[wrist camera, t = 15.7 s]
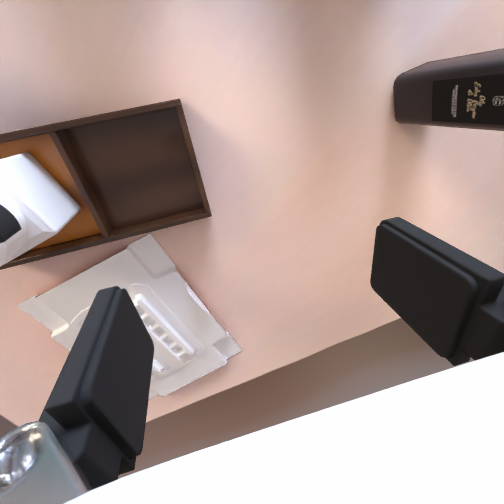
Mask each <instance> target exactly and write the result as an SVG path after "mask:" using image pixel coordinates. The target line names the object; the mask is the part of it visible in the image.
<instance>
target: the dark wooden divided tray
mask: <svg viewBox="0 0 504 504" xmlns="http://www.w3.org/2000/svg"><path fill="white" fill-rule="evenodd" d="M25 152H29V153H31V154H32V155H33V156H34V157H35V158H36V159H37V160H38V162H39V163H40V164H41V165H42V166H43V167H44V168H45V169H46V170H47V171H48V172H49V173H50V174H51V175H52V176H53V178H54V179H55V180H56V181H57V182H58V183H59V184H60V185H61V186H62V187H63V188H64V189H65V190H66V191H67V192H68V194H69V195H70V196H71V197H72V198H73V199H74V200H75V201H76V202H77V203H78V204H79V205H80V207H81V210H80V211H79V212H78V213H77V214H76V215H75V216H74V217H73V218H72V219H71V220H70V221H69V222H68V223H67V224H66V225H65V226H64V227H63V228H62V229H61V230H60V231H59V232H58V233H57V234H56V235H54V236H52V237H50V238H49V239H47V240H45V241H44V242H42V243H40V244H38V245H37V246H35V247H33V248H32V249H30V250H28V251H26V252H25V253H23V254H21V255H20V256H18V257H16V258H14V259H13V260H11V261H9V262H8V263H6V264H4V265H2V266H1V267H0V270H1V269H5V268H9V267H13V266H17V265H21V264H25V263H29V262H33V261H37V260H41V259H45V258H48V257H52V256H56V255H60V254H64V253H68V252H72V251H76V250H80V249H84V248H88V247H92V246H96V245H100V244H104V243H108V242H112V241H116V240H120V239H124V238H128V237H132V236H135V235H139V234H143V233H147V232H151V231H155V230H159V229H163V228H167V227H171V226H175V225H179V224H183V223H187V222H191V221H195V220H199V219H203V218H207V217H211V216H212V215H211V211H210V208H209V204H208V200H207V197H206V193H205V189H204V186H203V182H202V178H201V175H200V171H199V167H198V164H197V160H196V156H195V153H194V149H193V145H192V142H191V138H190V134H189V131H188V127H187V123H186V120H185V116H184V112H183V109H182V105H181V101H180V99H175V100H170V101H165V102H160V103H155V104H150V105H145V106H140V107H135V108H130V109H125V110H120V111H115V112H110V113H105V114H100V115H95V116H90V117H85V118H80V119H75V120H70V121H65V122H60V123H54V124H49V125H44V126H39V127H34V128H29V129H24V130H19V131H14V132H9V133H4V134H0V159H4V158H7V157H11V156H14V155H18V154H21V153H25Z"/></svg>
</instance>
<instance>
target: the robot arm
mask: <svg viewBox="0 0 504 504" xmlns="http://www.w3.org/2000/svg"><path fill="white" fill-rule="evenodd" d="M370 283H371V286H372V288H373V290H374V291H375V292H376V293H377V294H378V295H379V296H380V297H381V298H382V299H383V300H384V301H385V302H386V303H387V304H388V305H389V306H390V307H391V308H392V309H393V310H394V311H395V312H396V313H397V314H398V315H399V316H400V317H401V318H402V319H403V320H404V321H405V322H406V323H407V324H408V325H409V326H410V327H411V328H412V329H413V330H414V331H415V332H416V333H417V334H418V335H419V336H420V337H421V338H422V339H423V340H424V341H425V342H426V343H427V344H428V345H429V346H430V347H431V348H432V349H433V350H434V351H435V352H436V353H437V354H438V355H440V356H441V357H445V358H446V359H447V360H448V361H450V363H451V364H452V365H454V366H456V365H459V364H462V363H465V362H468V361H469V359H470V357H471V358H473V359H474V360H475V361H473V362H470V363H467V364H464V365H461V366H457V367H454V368H451V369H448V370H445V371H442V372H438V373H435V374H432V375H429V376H426V377H423V378H420V379H416V380H414V381H410V382H407V383H404V384H401V385H398V386H395V387H392V388H388V389H386V390H382V391H379V392H376V393H373V394H370V395H367V396H364V397H361V398H358V399H355V400H352V401H349V402H346V403H342V404H339V405H336V406H333V407H330V408H327V409H324V410H321V411H318V412H315V413H312V414H309V415H305V416H302V417H299V418H297V419H293V420H290V421H287V422H284V423H281V424H278V425H275V426H272V427H269V428H266V429H263V430H260V431H257V432H254V433H251V434H248V435H245V436H242V437H239V438H236V439H233V440H230V441H227V442H224V443H221V444H218V445H215V446H212V447H209V448H206V449H203V450H200V451H196V452H194V453H191V454H188V455H185V456H182V457H179V458H176V459H174V460H171V461H168V462H165V463H162V464H159V465H156V466H154V467H151V468H148V469H145V470H142V471H139V472H137V473H134V474H131V475H128V476H125V477H123V478H120V479H118V475H120V474H123V473H126V472H129V471H132V470H134V469H135V461H136V456H138V455H140V454H141V452H142V448H143V440H144V431H145V423H146V415H147V407H148V398H149V390H150V382H151V374H152V365H153V357H154V344H153V341H152V338H151V337H150V335H149V333H148V331H147V329H146V327H145V325H144V323H143V321H142V319H141V317H140V315H139V313H138V311H137V309H136V307H135V305H134V303H133V301H132V300H131V298H130V296H129V294H128V292H127V290H126V289H124V288H123V289H120V287H119V286H113V287H109V288H105V289H101V290H98V292H97V294H96V296H95V298H94V300H93V303H92V305H91V307H90V309H89V311H88V314H87V316H86V318H85V320H84V322H83V325H82V327H81V329H80V331H79V333H78V336H77V338H76V340H75V342H74V344H73V346H72V348H71V351H70V353H69V355H68V357H67V359H66V362H65V364H64V366H63V368H62V370H61V373H60V375H59V377H58V379H57V381H56V384H55V386H54V388H53V390H52V392H51V395H50V397H49V399H48V401H47V403H46V406H45V408H44V410H43V412H42V414H41V417H40V419H39V421H35V422H30V423H26V424H24V425H22V426H20V427H18V428H16V429H14V430H13V431H11V432H10V433H9V434H7V435H5V436H4V437H3V438H2V439H0V504H504V274H503V273H502V272H500V271H498V270H496V269H494V268H492V267H490V266H489V265H487V264H485V263H483V262H481V261H479V260H478V259H476V258H474V257H472V256H470V255H468V254H466V253H465V252H463V251H461V250H459V249H457V248H455V247H453V246H452V245H450V244H448V243H446V242H444V241H442V240H441V239H439V238H437V237H435V236H433V235H431V234H429V233H428V232H426V231H424V230H422V229H420V228H418V227H416V226H415V225H413V224H411V223H409V222H407V221H405V220H404V219H402V218H399V217H395V218H391V219H387V220H383V221H382V222H381V223H380V225H379V226H378V227H377V229H376V236H375V245H374V254H373V263H372V271H371V280H370Z"/></svg>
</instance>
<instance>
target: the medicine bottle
mask: <svg viewBox="0 0 504 504" xmlns="http://www.w3.org/2000/svg"><path fill="white" fill-rule="evenodd" d="M80 210H81V207H80V205H79V204H78V203H77V202H76V201H75V200H74V199H73V198H72V197H71V196H70V195H69V194H68V192H67V191H66V190H65V189H64V188H63V187H62V186H61V185H60V184H59V183H58V182H57V181H56V180H55V179H54V178H53V176H52V175H51V174H50V173H49V172H48V171H47V170H46V169H45V168H44V167H43V166H42V165H41V164H40V163H39V162H38V160H37V159H36V158H35V157H34V156H33V155H32V154H31V153H29V152H25V153H21V154H18V155H14V156H11V157H7V158H4V159H0V267H1V266H2V265H4V264H6V263H8V262H9V261H11V260H13V259H14V258H16V257H18V256H20V255H21V254H23V253H25V252H26V251H28V250H30V249H32V248H33V247H35V246H37V245H38V244H40V243H42V242H44V241H45V240H47V239H49V238H50V237H52V236H54V235H56V234H57V233H58V232H59V231H60V230H61V229H62V228H63V227H64V226H65V225H66V224H67V223H68V222H69V221H70V220H71V219H72V218H73V217H74V216H75V215H76V214H77V213H78V212H79V211H80Z"/></svg>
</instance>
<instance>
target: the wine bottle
mask: <svg viewBox="0 0 504 504" xmlns="http://www.w3.org/2000/svg"><path fill="white" fill-rule="evenodd" d="M393 89H394V108H395V118H396V121H397V122H399V123H405V124H418V125H431V126H445V127H458V128H471V129H484V130H497V131H504V49H498V50H493V51H487V52H482V53H476V54H470V55H465V56H459V57H454V58H448V59H443V60H437V61H432V62H427V63H425V64H422V65H420V66H418V67H416V68H413V69H411V70H409V71H406V72H404V73H402V74H400V75H399V76H398V77H397V78H396V80H395V82H394V87H393Z"/></svg>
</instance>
